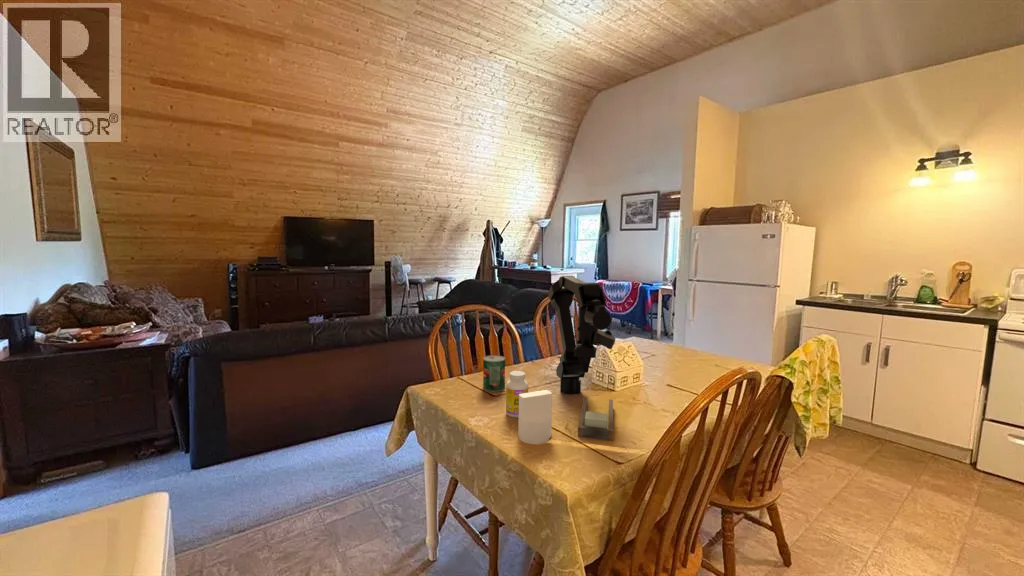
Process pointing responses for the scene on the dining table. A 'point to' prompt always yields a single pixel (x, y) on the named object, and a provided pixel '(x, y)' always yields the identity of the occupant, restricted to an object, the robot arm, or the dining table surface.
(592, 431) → the chute
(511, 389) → the supplement bottle
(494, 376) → the canned tomato
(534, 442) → the cylinder with rectangular tab
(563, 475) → the dining table surface
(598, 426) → the block
